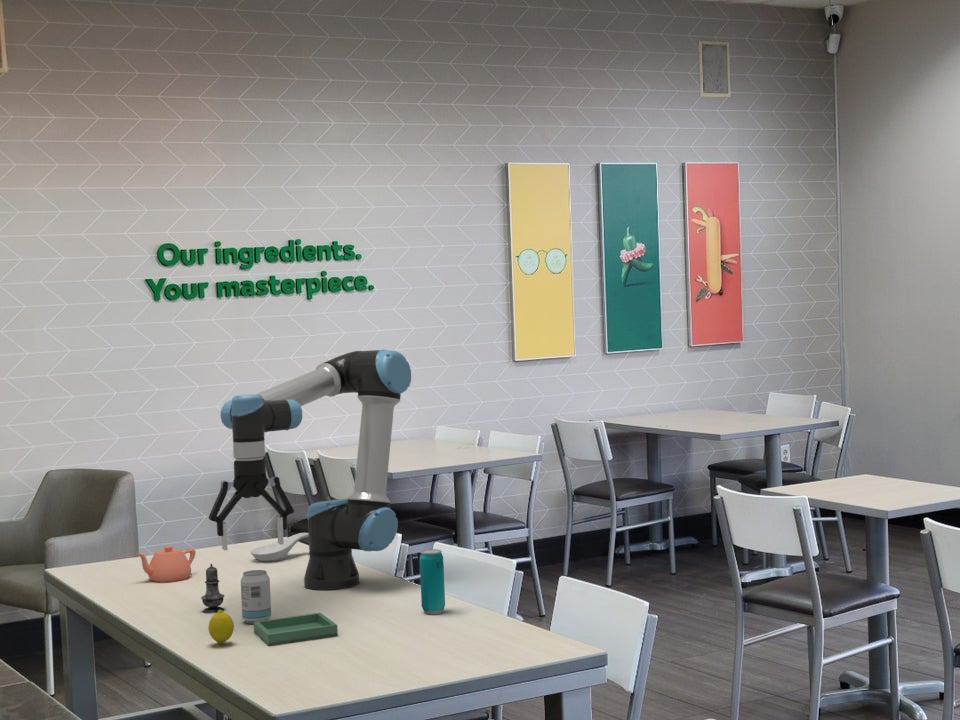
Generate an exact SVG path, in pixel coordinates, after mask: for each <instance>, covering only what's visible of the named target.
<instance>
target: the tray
mask: <svg viewBox="0 0 960 720" xmlns="http://www.w3.org/2000/svg"><path fill="white" fill-rule="evenodd" d="M338 632H339V631H338V624H337V623H336V622H334V621H333V620H332V619H330V618H328V617H327V616H326V615H324V614H323V613H322V612H314V613H308V614H300V615H293V616H287V617H286V616H285V617H279V618H278V617H277V618H269V619H268V620H262V621H254V624H253V633H254V634H255V635H257V637H258V638H260V639H261V641H262V642H264V643H265V644H266V645H267V646H268V647H271V646H276V645H277V646H278V645H284V644H291V643H297V642H304V641H305V642H306V641H311V640H319V639H326V638H332V637H338V635H339V633H338Z"/></svg>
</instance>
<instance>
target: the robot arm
mask: <svg viewBox="0 0 960 720" xmlns="http://www.w3.org/2000/svg"><path fill="white" fill-rule="evenodd" d="M411 382H412V369H411V365H410V363H409V361H407V358H406V357H405V356H404V355H403V353H401V352H400V351H396V350H389V349H377V350H354V351H350V352H346V353H344V354H341V355H339V356H336V357H334V358H332V359H329V360H327V361H324V362H321V363H320V364H318V365H317V366H316V368H315V370H312V371H309V372H308V373H305V374H302V375H300V376H298V377H295V378H293V379H290V380H288V381H284V382H283V383H281V384H278V385H275V386H272V387H270V388H268V389H265V390H263V391H261V392H258V393H256V394H240V395H239V394H238V395H234V396H233V397H232V399H231V400H227V401H226V402H225V403H224V404H223V405H222V407H221V409H220V420H221V422H222V424H223V426H224V427H226V428H227V429H230V430H232V431H231V432H232V445H233V447H232V448H233V449H232V450H233V451H232V453H233V454H232V455H233V459H235V460H234V461H233V475H234V477H233V480H232V481H229V480H227V481H226V480H222V481H221V482H220V490H219V492H218V495H217V497H216V499H215V502H214V504H213V506H212V508H211V511H210V512H209V515H208V519H209V521H211V522H215V523H216V533H217V536H218V537H221V548H222V550H224V552H225V551H228V549H229V548H228V531H227V530H228V528H227V524H228V523H227V522H226V521H225V520H226V519H227V517H228V516H229V514H230V513H231V512H232V510H233V509H234V508H235V506H236V505H237V504H238V503H239V502H240V500H241V499H242V498H244V499H250V498H259V497H260V496H261V497H262V498H264V500H265V501H266V502H267V503H268V504H269V505H270V506H271V507H272V508H273V509H274V510H275V511H276V513H278V516H276V526H277V527H276V528H277V529H276V530H277V532H276V533H277V542H278V543H279V544H284V540H283V539H284V531H285V530H288V529H287V528H288V522H287V521H288V520H287V518H288V516H290V515H291V514H294V512H295V509H294V508H293V506H292V504H291V502H290V500H289V499H288V497H287V495H286V493H285V492H284V490H283V487H282V485H281V480H280V478H279V476H275V475H273V476H272V477H269V478H268V477H267V469H266V466H267V465H266V459H265V458H264V457H265V456H266V446H265V445H266V444H265V433H268V432H277V431H289V430H293V429H297V428H298V427H299V426H300V425H301V423H302V421H303V409H302V407H303V406H305V405H308V404H310V403H313V402H314V401H317V400H319V399H321V398H323V397H326V396H327V397H330V398H332V397H335V396H338V395H340V394H349V393H353V394H354V393H355V394H357V398H358V400H359V401H360V402H361V404H362V405H361V415H360V416H361V418H360V427H359V438H358V448H357V449H358V450H357V455H356V456H357V458H356V469H355V476H354V487H353V489H354V490H353V493H352V494H351V495H349V496H347V498H339V499H331V500H327V501H326V500H324V501H319V502H315V503H312V504H310V505H309V506H308V507H307V508H308V509H307V518H306V519H307V520H306V521H307V533H308V537H307V538H308V551H309V553H308V554H309V558H308V561H307V562H308V563H307V566H306V569H305V573H304V577H303V585H304V586H303V587H305V588H306V589H309V590H310V589H311V590H317V591H318V590H319V591H321V590H322V591H323V590H325V591H326V590H327V591H329V590H339V589H340V590H341V589H346V588H350V587H354V586H357V585H359V584H360V573H359V570H358V567H357V565H356V562H355V559H354V557H353V550H358V551H364V552H380V551H383V550H385V549H387V548H389V546H390V545H391V544H392V543H393V542H394V540H395V538H396V535H397V531H398V527H399V526H398V525H399V522H398V517H396V516H397V514H396V513H395V511H394V510H392V509H391V500H390V499H389V497H388V496H387V486H388V485H387V484H388V474H389V473H388V472H389V463H390V452H391V442H392V432H393V431H392V430H393V422H394V409H395V407H396V405H398V404H399V403H401V396H402V394H403V393H404V392H406V391H407V390H408V388H409V387H410V386H411V384H412V383H411ZM268 485H270V486H272V487H273V488H274V490H275V492H276V493H277V496H278V497H279V500H280V502H281V503H282V505H283V507H284V508H285V509H284V508H283V507H282V506H281V505H280V504H279V503H278V502H277V501H276V500H275V499H274V498H273V497H272V496H271V495H270V494H269V493H268V491H267V490H266V488H267V486H268ZM232 487H233V488H234V490H235V492H234V493H233V495H232V497H231V498H230V500H229V501H228V503H227V504H226V505H225V506H224V507H223V509H222V510H221V508H222V506H223V503H224V501H225V499H226V496H227V494H228V491H230V490H231V488H232ZM220 510H221V512H220ZM219 512H220V513H219Z"/></svg>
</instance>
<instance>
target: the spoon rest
mask: <svg viewBox="0 0 960 720" xmlns="http://www.w3.org/2000/svg"><path fill="white" fill-rule="evenodd" d="M305 538H308V532H299V533H296V534H294V535H291V536H289V537H286V538H283V540H284V544H279V543H278V541H276V542H272V543H269V544H266V545H262V546H258V547H256V548H253V549H252V550H251V551H250V554H251V555H252V557H253V558H254V559H256V560H257V561H259V562H262V563H263V562H264V563H273V562H281V561H283V559H284V558H285V557H287V556H288V554H289V552H290V551H291V550H292V549H293V547H294V546H295V545H296V544H297V543H298V542H299V541H300V540H303V539H305Z"/></svg>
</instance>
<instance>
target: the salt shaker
mask: <svg viewBox="0 0 960 720" xmlns="http://www.w3.org/2000/svg"><path fill="white" fill-rule="evenodd" d="M209 565H210V566H209V567H208V568H206V570H205V581H204V583H205V589H206V591H205V594H204V595H202V596H201V597H200V599H201V601H202V605H204V606H205V608H204V609H203V610H202V613H204V614H216V613H217V612H218V611H219V610H220V609H221V610H222V611H223V612H224V610H225V609H224V607H223V606H221V605H222V604H223V603H224V598H225V594H222V593H220V590H219V589H220V588H219V582H220V580H219V578H218V576H219V575H218V568H217V567H216V566H215V567H214V566H213V564H212V563H210V564H209Z"/></svg>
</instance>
